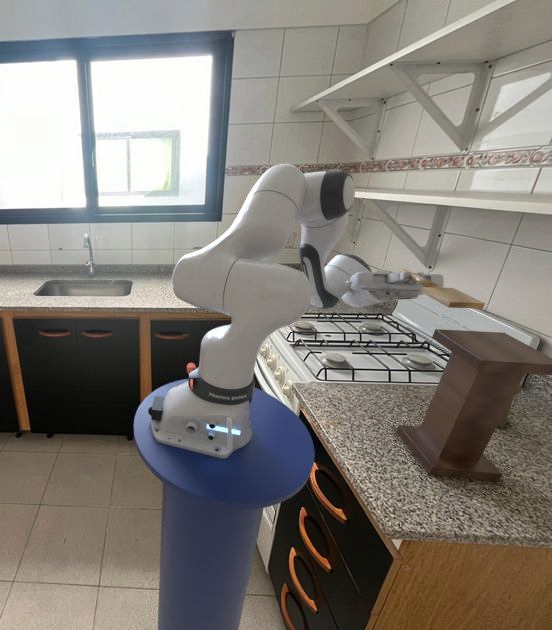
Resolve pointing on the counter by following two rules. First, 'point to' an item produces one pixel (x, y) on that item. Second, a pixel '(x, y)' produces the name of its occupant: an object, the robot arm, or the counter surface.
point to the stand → (471, 401)
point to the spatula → (445, 294)
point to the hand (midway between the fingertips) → (414, 275)
